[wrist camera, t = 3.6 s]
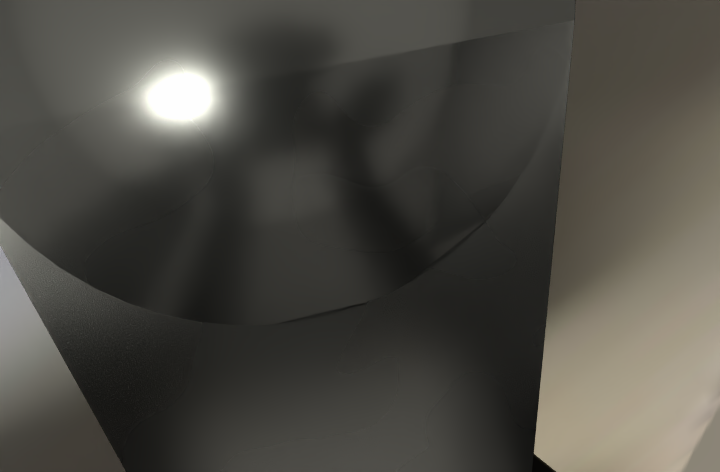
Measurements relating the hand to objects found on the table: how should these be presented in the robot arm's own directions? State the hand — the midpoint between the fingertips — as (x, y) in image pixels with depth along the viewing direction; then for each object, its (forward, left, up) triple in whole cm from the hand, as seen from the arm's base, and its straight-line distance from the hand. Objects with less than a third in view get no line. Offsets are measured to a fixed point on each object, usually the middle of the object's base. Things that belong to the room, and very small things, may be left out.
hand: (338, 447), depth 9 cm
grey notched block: (0, 0, -1) cm, 1 cm away
